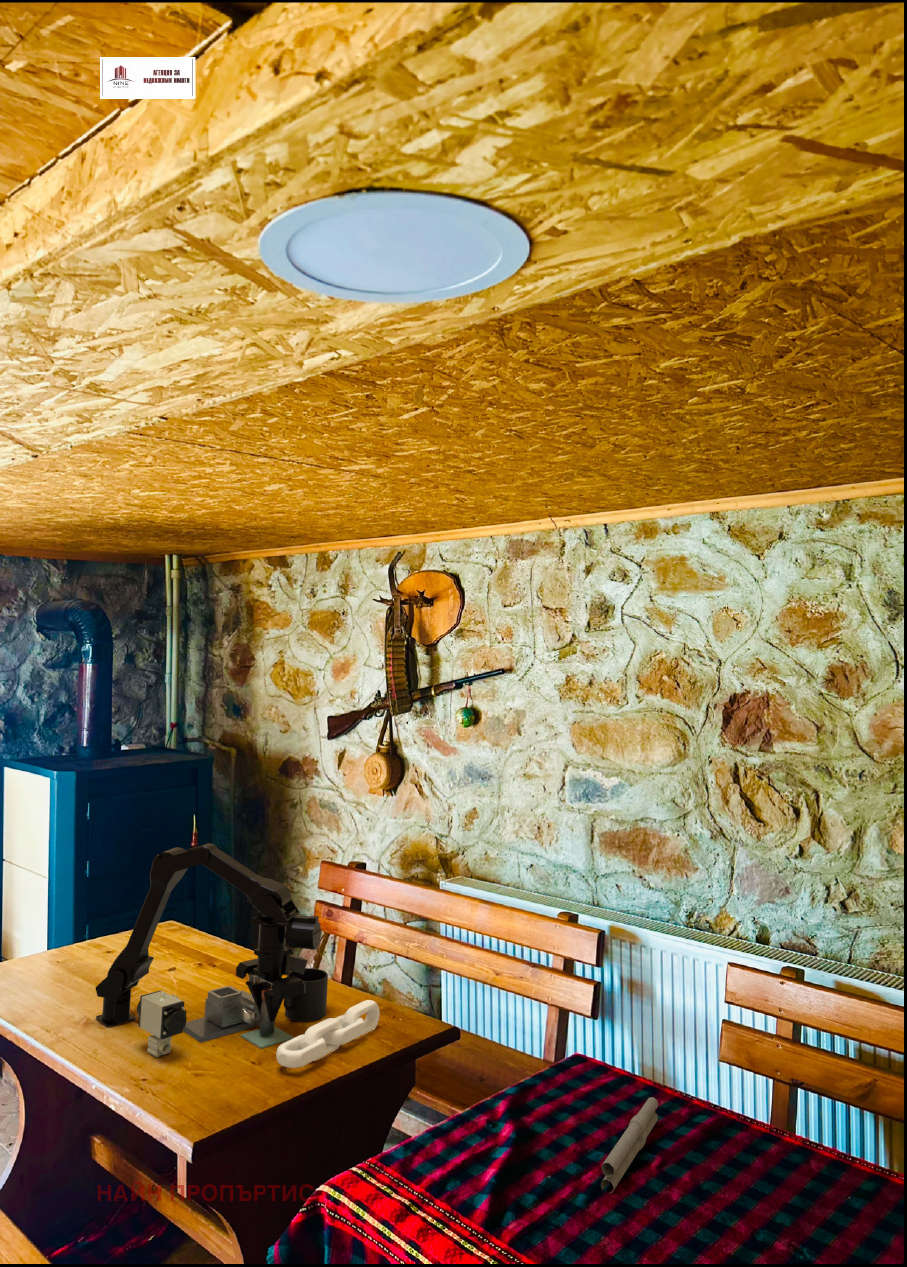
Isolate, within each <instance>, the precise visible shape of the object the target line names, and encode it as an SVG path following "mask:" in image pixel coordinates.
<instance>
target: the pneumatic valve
mask: <svg viewBox="0 0 907 1267" xmlns="http://www.w3.org/2000/svg"><path fill="white" fill-rule="evenodd" d="M136 1013H137V1015H138V1028H140V1029H142V1030H145V1031H146V1032H148V1033H150V1034H151V1035H148V1037H147V1045H148V1048H147V1050H146V1052H147V1053H148V1054H150V1055H151V1056H153V1057H155V1058H159V1057H160V1056H164V1055H166V1054H167V1055H170V1053H171V1052H172V1044H171V1042H172V1039H173V1038H172V1037H173V1036H177V1035H180V1034H182V1033H183V1032H184V1031H183V1028H184V1027H185V1026H186V1022H188V1021H187V1020H188V1018H187V1010H185V1001H184V1000H182V999H180V998H179V996H177V995H176V994H169V993H167V992H165V991H163V990H161V989H160V990H157V991H153V992H149V993H146V994H142V995H140V996H139V1002H138V1003H137V1006H136Z"/></svg>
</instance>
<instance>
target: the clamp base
mask: <svg viewBox="0 0 907 1267" xmlns="http://www.w3.org/2000/svg"><path fill="white" fill-rule="evenodd" d="M240 991H241V992H242V1001H241V1002H242V1003H244V1005H243V1022H241V1023H237V1024H234V1025H230V1026H227V1027H223V1028H222V1027H220V1026H218V1025H217V1024H215V1023H213V1022H212V1021H210V1020H209V1019H207V1018H205V1016H204V1017H200V1018H196V1019H192V1020H189V1021H186V1026H185V1027H184V1028H183V1032H184V1033H185V1034H187V1035H189V1036H190V1037H191V1038H193V1039H195V1040H196V1041H197V1042H199V1043H204V1042H208V1041H211V1040H215V1039H217V1038H221V1037H225V1036H229V1035H231V1034H235V1033H238V1032H242V1031H245V1030H248V1029H252V1028H256V1027H260V1013H259V1011H258V1009H257V1006H256V1004H255V1001H254V999H253V997H252V994H251V993H249V992H247V991H245V990H243V989H242V990H240Z"/></svg>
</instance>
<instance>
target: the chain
mask: <svg viewBox="0 0 907 1267" xmlns="http://www.w3.org/2000/svg"><path fill="white" fill-rule="evenodd" d="M364 1014H366V1016H365V1018H364V1019H363V1017H361V1016H362V1015H364ZM380 1015H381V1014H380V1007H379V1005H378V1003H377V1002H376V1001H374V1000H371V999H367V1000H363V1001H361V1002H359V1003H357V1004H355V1005H353V1006H351V1007H349V1008H348V1009H347V1010H346V1012H345V1013H344V1014H342V1015H339V1016H336V1017H335V1018H333V1017H329V1018H326V1019H324V1020H322V1021H320V1022H318V1023H316V1024H314V1025H311V1026H309V1027H308V1028H307V1029H306V1031H305V1032H304V1034H300V1035H297V1036H296V1037H293V1039H290V1040H287V1041H284V1042H282V1043H280V1045H279V1046H278V1047H277V1050H276V1055H275V1056H276V1061H277V1064H279V1065H280V1066H283V1067H285V1068H291V1069H295V1068H296V1069H297V1068H298V1069H299V1068H302V1067H304V1066H306V1065H308V1064H310V1063H313V1062H312V1061H316V1060H318V1059H320V1058H322V1057H324V1056H325V1055H327V1054H329V1053H330V1052H333V1051H335V1050H336V1049H337V1050H338V1049H339V1048H340V1046H342V1045H345V1044H347V1043H349V1042H351V1041H354V1040H353V1039H356V1038H358V1037H360V1036H361V1035H364V1034H366V1033H368V1032H370V1031H372V1030H374V1031H375V1029H376V1028H377V1026H378V1023H379V1020H380ZM372 1032H373V1031H372ZM337 1050H336V1051H337ZM336 1051H335V1052H336ZM324 1058H325V1057H324ZM322 1059H323V1058H322ZM316 1062H317V1061H316Z"/></svg>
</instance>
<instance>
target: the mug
mask: <svg viewBox="0 0 907 1267" xmlns="http://www.w3.org/2000/svg"><path fill="white" fill-rule="evenodd" d="M290 976H295V977H297V978H299V979H301V980H303V981H304V982H305V983H306V984H305V993H304V994H301V995H298V996H294V997H290V998H287V999H283V1008H284V1014H285V1018H287V1020H288V1019H289V1020H291V1021H294V1022H299V1023H309V1022H310V1021H311V1022H316V1021H318V1020H320V1019H323V1018H324V1017H325V1016H326V1015H327V1002H328V982H329V974H328V972H327V971H325V970H324V969H319V968H313V967H310V968H309V967H306V968H305V971H304V974H303V975H301V974H299V973H296V972H291V971H290V974H289V975H286V977H290ZM311 1022H310V1023H311Z"/></svg>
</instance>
